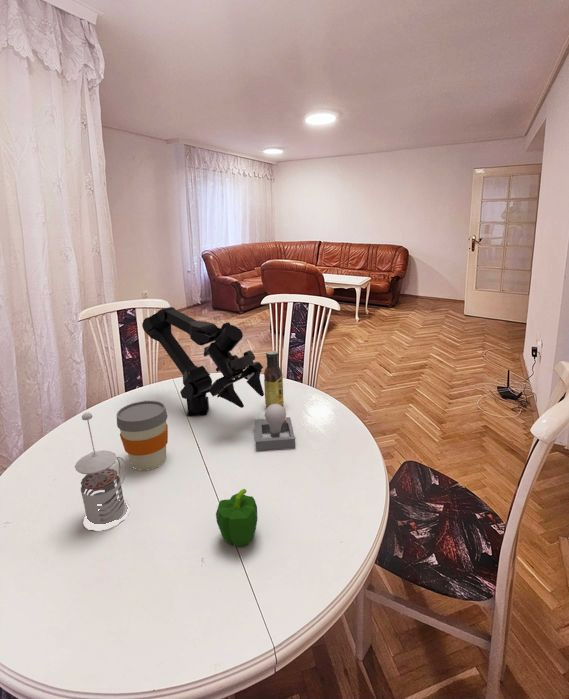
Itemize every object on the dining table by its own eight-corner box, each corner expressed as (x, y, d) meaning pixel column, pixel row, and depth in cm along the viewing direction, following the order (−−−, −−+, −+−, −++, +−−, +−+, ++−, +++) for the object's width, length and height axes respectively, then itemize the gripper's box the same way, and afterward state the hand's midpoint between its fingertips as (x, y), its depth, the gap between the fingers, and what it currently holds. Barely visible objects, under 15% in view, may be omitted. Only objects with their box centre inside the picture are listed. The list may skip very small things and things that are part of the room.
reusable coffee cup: (140, 446, 115) (132, 398, 111) (180, 450, 113) (174, 401, 108) (114, 472, 104) (104, 420, 99) (158, 476, 101) (150, 423, 97)
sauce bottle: (283, 411, 134) (281, 355, 128) (264, 412, 134) (262, 356, 128) (284, 403, 140) (282, 349, 134) (266, 403, 140) (263, 349, 134)
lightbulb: (283, 445, 114) (284, 410, 110) (262, 443, 115) (262, 408, 111) (287, 434, 119) (287, 401, 116) (267, 432, 120) (267, 399, 117)
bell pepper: (231, 560, 75) (227, 516, 72) (211, 534, 82) (207, 493, 79) (268, 539, 80) (266, 497, 77) (247, 517, 86) (244, 477, 83)
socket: (256, 451, 111) (255, 439, 110) (255, 428, 123) (254, 417, 122) (295, 448, 112) (295, 436, 111) (290, 425, 124) (290, 414, 123)
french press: (71, 525, 86) (47, 420, 78) (112, 492, 96) (94, 396, 88) (107, 536, 82) (85, 428, 75) (145, 501, 92) (129, 402, 85)
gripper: (213, 353, 109) (246, 399, 106) (257, 336, 123) (286, 377, 120) (196, 374, 116) (226, 418, 113) (239, 356, 130) (267, 395, 127)
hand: (253, 401), depth 118 cm, fingers open, 9 cm apart
